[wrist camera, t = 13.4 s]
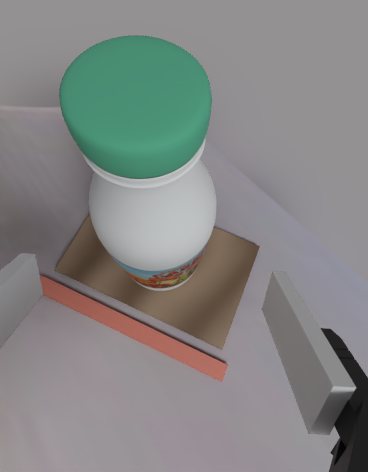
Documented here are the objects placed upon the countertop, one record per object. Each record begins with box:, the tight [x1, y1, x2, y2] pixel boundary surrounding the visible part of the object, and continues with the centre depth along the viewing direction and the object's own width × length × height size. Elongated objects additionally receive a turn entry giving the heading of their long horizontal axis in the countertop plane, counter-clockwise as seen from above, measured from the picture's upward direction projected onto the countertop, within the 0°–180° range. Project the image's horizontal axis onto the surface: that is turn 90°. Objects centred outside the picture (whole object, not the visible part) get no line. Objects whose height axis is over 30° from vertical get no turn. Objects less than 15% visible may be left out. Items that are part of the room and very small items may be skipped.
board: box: [55, 214, 260, 349], centre depth 27 cm, size 18×11×1 cm, turn 66°
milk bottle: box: [59, 36, 216, 291], centre depth 17 cm, size 8×8×20 cm
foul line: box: [40, 275, 228, 382], centre depth 24 cm, size 20×2×1 cm, turn 66°
